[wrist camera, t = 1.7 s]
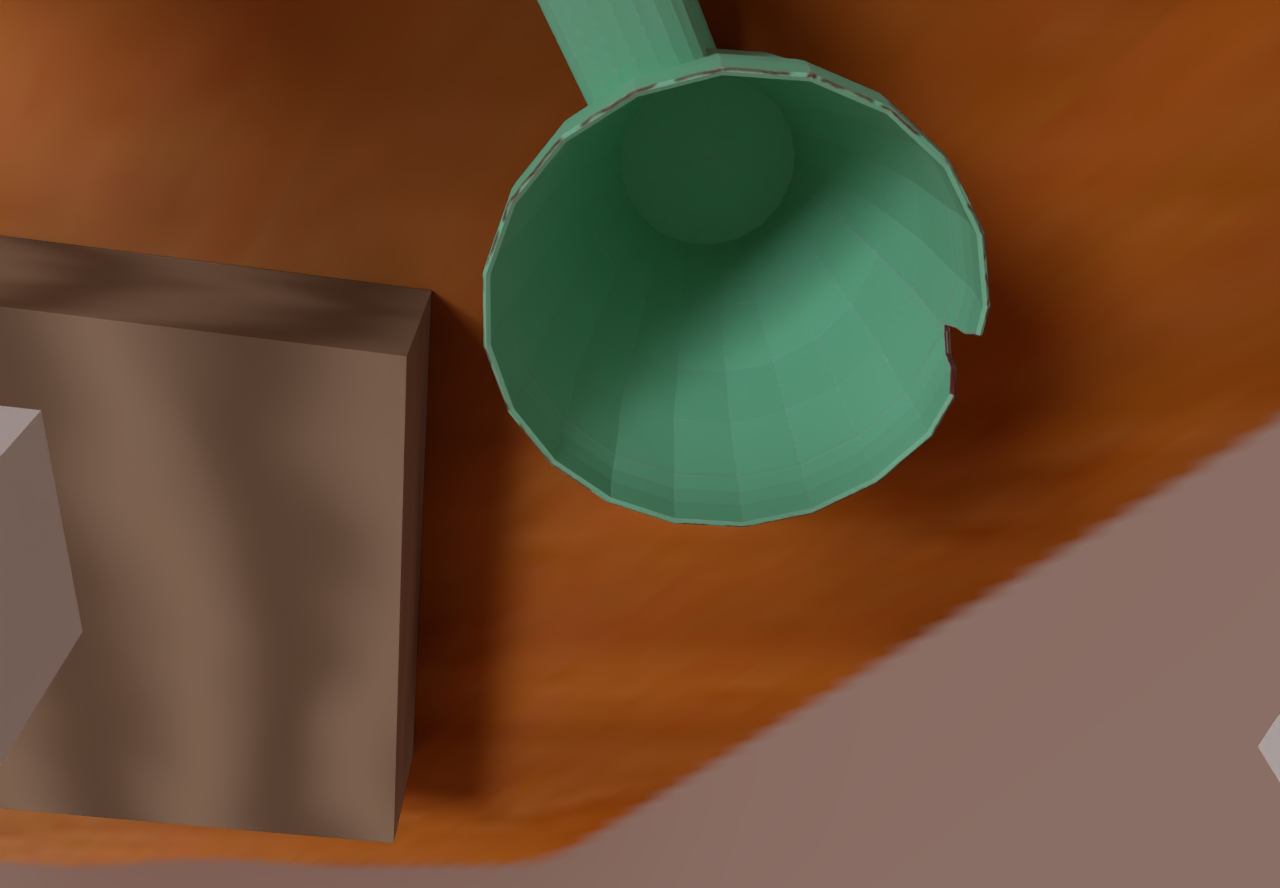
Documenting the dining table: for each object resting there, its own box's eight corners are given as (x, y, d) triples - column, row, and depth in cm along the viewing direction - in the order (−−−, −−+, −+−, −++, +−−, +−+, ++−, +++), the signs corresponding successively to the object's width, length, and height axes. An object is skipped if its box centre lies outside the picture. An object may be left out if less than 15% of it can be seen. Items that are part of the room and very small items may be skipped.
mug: (930, 249, 31) (1040, 440, 22) (614, 367, 33) (605, 583, 24) (756, -336, 23) (822, -378, 15) (362, -135, 25) (227, -74, 17)
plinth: (431, 290, 31) (406, 356, 28) (413, 755, 42) (393, 843, 39) (-297, 197, 30) (-415, 255, 27) (-122, 704, 41) (-191, 791, 37)
